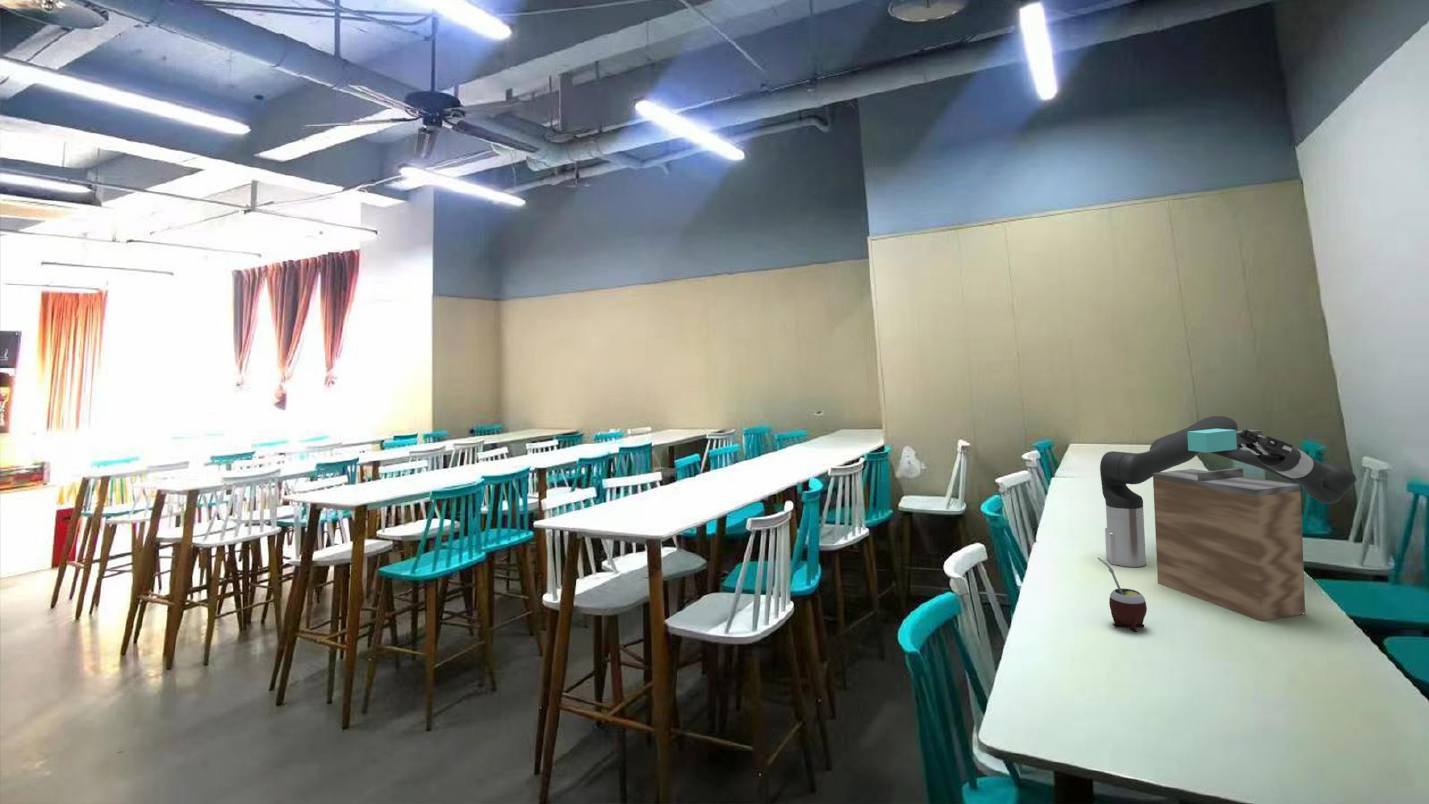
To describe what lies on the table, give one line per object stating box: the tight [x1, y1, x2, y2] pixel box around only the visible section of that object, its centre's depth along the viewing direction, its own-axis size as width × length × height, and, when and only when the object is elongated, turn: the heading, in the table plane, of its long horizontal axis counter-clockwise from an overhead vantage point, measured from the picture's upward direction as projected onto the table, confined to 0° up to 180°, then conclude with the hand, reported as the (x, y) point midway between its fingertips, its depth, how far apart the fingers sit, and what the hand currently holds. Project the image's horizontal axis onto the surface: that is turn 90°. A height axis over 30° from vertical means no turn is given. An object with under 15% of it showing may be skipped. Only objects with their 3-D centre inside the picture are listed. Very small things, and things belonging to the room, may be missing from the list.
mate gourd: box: [1097, 557, 1148, 633], centre depth 135 cm, size 8×8×15 cm
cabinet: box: [1152, 467, 1306, 622], centre depth 146 cm, size 13×26×32 cm, turn 8°
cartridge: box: [1187, 429, 1263, 454], centre depth 153 cm, size 18×5×5 cm, turn 98°
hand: (1236, 432), depth 154 cm, fingers closed on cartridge, 3 cm apart
